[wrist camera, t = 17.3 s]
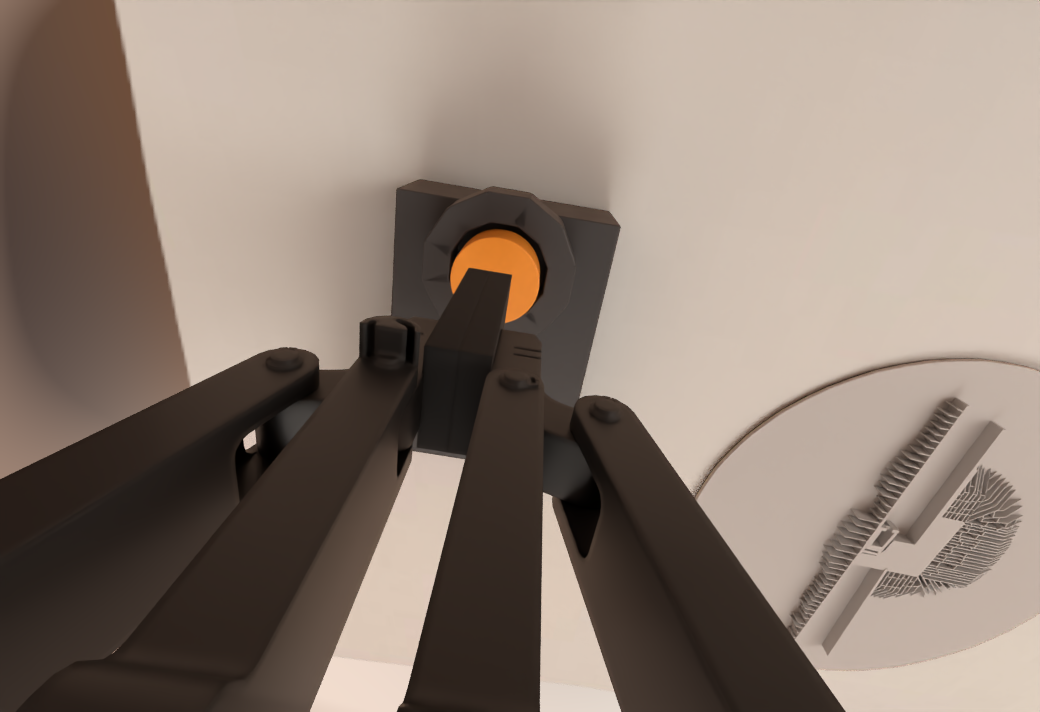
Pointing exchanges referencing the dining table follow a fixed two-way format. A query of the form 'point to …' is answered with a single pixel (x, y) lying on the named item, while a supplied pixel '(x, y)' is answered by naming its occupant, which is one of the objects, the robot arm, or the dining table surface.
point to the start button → (502, 266)
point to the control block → (558, 245)
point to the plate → (892, 511)
